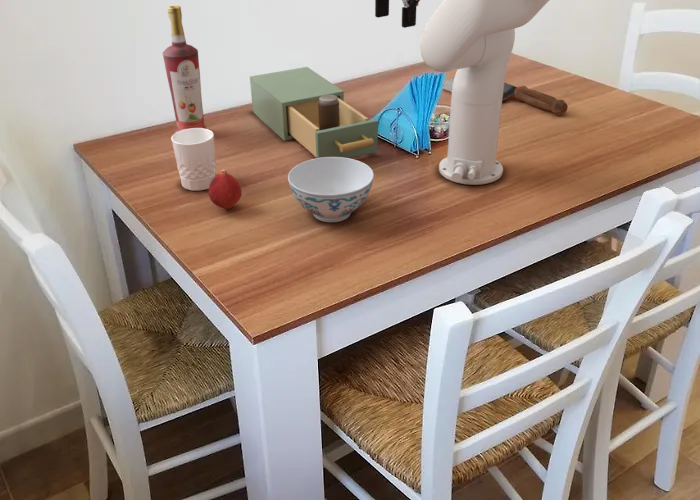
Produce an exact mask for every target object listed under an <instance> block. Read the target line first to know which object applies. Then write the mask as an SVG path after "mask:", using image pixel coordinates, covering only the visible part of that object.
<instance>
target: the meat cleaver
mask: <svg viewBox="0 0 700 500" xmlns="http://www.w3.org/2000/svg"><path fill="white" fill-rule="evenodd" d="M454 77H455V76H453V77H451V78H450V79H448V80H446V81H444V82H445V83H444V82H443V83H444V87H443V88H442V89H443V90H445V91H448V92H450V93H452V85H453V81H454ZM512 96H514V97H515V99H516V100H517V101H519V102H525V103H526V104H528V105H530V106H533V107H535V108H538V109H541V110H543V111H546V112H553V113H554V114H555V115H556V116H561V115H564V114H566V113H567V110H568V104H567V102H566V101H565V100H564V99H557V98H556V97H554V96H552V95H549V94H547V93H544V92H541V91H538V90H535V89H531V88H528V87H527V86H526V85H521V86H515V85H512V84H510V83H508V82H505V81H504V90H503V98H502V101H504V100H506V99H508V98H510V97H512Z"/></svg>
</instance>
